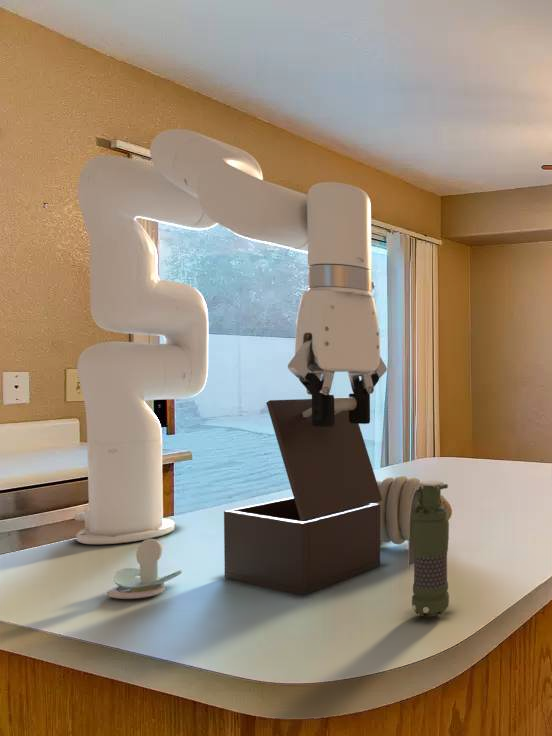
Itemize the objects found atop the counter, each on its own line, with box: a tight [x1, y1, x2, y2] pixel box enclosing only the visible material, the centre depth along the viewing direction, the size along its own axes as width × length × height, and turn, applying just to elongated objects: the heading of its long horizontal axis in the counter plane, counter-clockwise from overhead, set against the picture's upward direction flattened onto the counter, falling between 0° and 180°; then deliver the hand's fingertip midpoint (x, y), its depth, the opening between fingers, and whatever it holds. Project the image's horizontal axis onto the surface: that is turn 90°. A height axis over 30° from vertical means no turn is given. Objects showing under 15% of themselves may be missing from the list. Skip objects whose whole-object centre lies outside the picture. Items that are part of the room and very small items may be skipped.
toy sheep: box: [375, 475, 453, 545], centre depth 93 cm, size 11×17×11 cm, turn 98°
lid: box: [265, 396, 382, 521], centre depth 77 cm, size 15×13×5 cm
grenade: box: [408, 480, 450, 618], centre depth 66 cm, size 4×4×15 cm
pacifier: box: [106, 538, 182, 600], centre depth 72 cm, size 7×6×6 cm
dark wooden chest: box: [223, 496, 381, 596], centre depth 80 cm, size 15×13×9 cm
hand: (342, 423), depth 77 cm, fingers closed on lid, 5 cm apart
